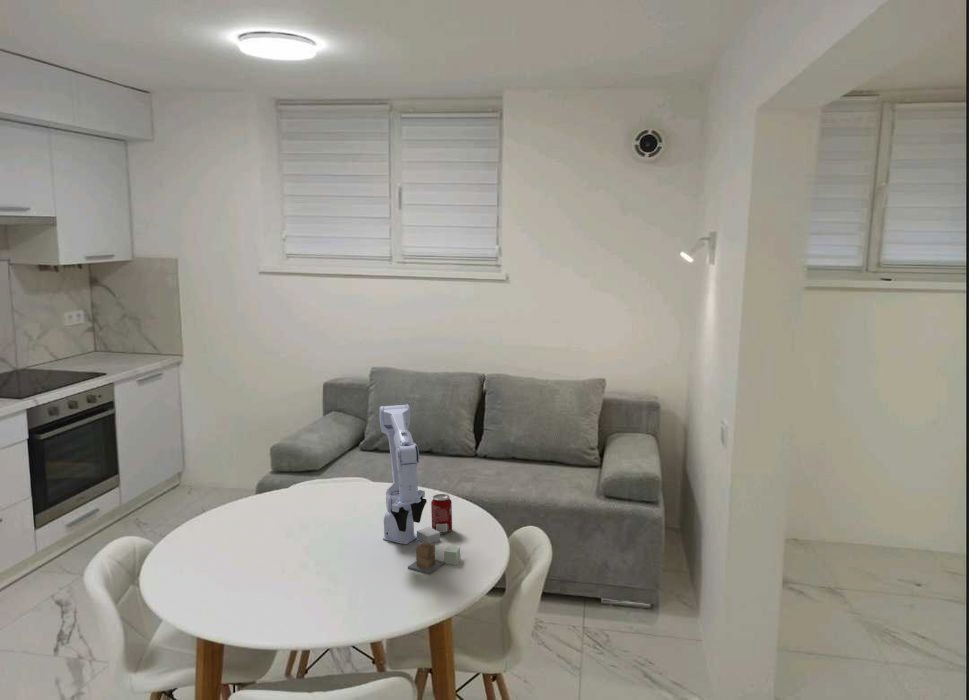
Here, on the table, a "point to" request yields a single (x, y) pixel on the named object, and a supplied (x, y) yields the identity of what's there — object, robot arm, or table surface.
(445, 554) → the sage block
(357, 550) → the table surface
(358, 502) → the table surface
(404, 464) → the robot arm
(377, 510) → the table surface
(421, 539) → the grey plastic box
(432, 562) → the walnut block
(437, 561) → the slate coaster
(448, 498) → the soda can
